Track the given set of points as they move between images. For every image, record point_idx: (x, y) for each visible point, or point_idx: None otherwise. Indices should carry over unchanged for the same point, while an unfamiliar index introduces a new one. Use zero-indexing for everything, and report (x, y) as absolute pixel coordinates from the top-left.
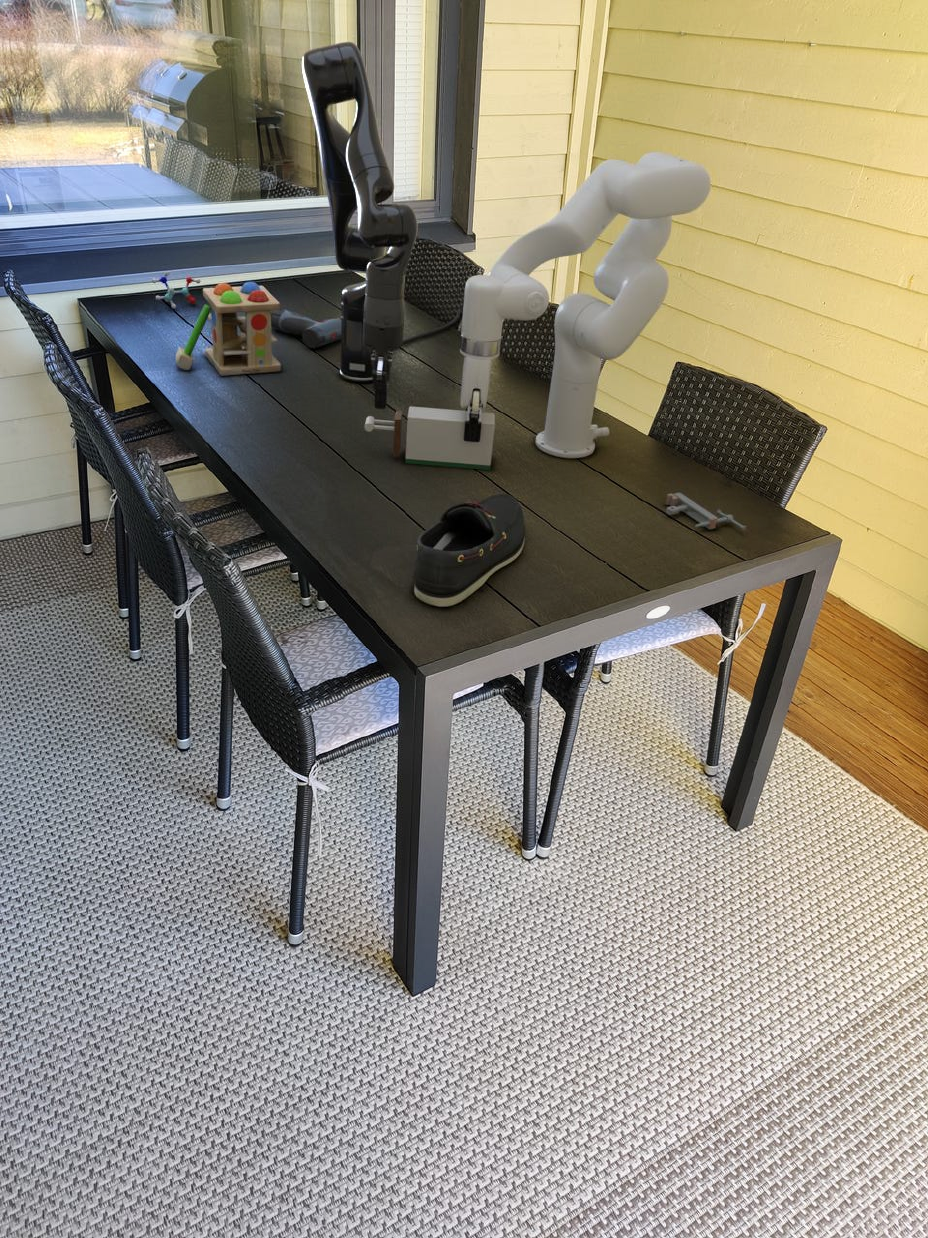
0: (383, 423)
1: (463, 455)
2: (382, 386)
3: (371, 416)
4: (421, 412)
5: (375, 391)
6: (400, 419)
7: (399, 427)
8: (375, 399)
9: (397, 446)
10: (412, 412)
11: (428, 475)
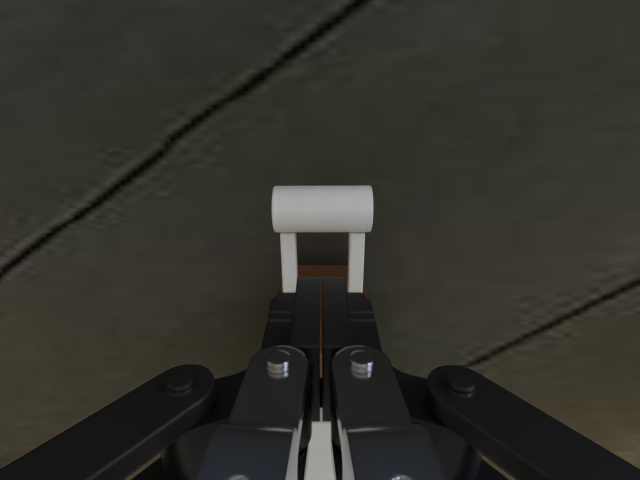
0: (348, 268)
1: None
2: (165, 467)
3: (367, 220)
4: (324, 470)
5: (290, 341)
6: None
7: None
8: (294, 306)
9: None
10: (316, 438)
11: (210, 359)
